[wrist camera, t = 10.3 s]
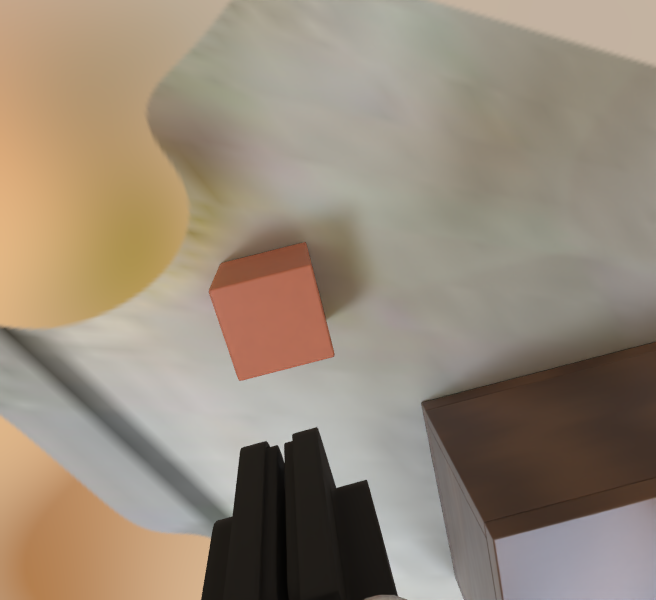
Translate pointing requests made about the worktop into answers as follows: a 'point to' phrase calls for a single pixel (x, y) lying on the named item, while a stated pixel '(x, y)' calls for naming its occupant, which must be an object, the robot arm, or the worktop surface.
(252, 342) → the block
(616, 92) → the worktop surface
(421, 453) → the worktop surface
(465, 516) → the cabinet
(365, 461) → the worktop surface
